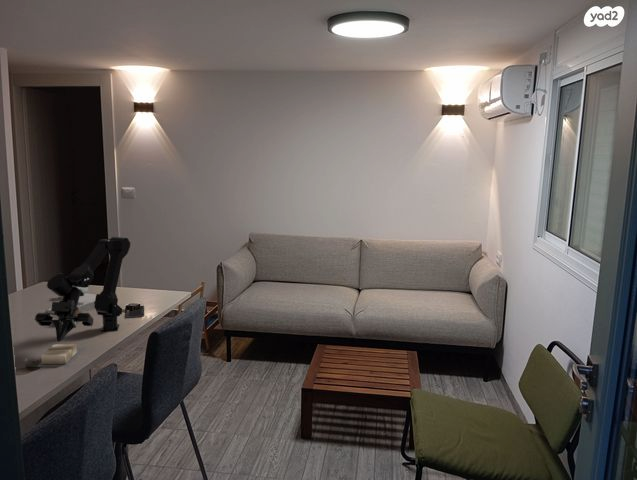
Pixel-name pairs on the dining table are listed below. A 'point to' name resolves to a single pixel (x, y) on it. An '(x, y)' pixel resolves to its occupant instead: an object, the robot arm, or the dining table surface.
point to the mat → (79, 351)
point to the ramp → (82, 303)
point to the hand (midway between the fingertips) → (58, 341)
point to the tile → (59, 354)
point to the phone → (135, 313)
